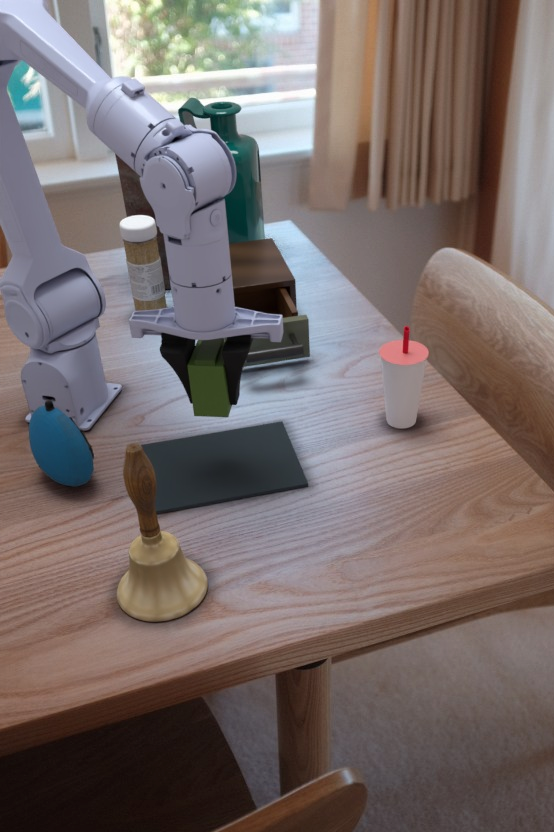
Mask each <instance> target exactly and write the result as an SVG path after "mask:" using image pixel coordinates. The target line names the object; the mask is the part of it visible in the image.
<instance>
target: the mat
mask: <svg viewBox="0 0 554 832" xmlns="http://www.w3.org/2000/svg"><path fill="white" fill-rule="evenodd" d="M140 445H141V446H142V449H143V451H144V453H145V454H146V456H147V457H148V459H149V460H150V462H151V464H152V466H153V469H154V472H155V477H156V485H157V491H156V499H155V511H156V515H159V514H166V513H170V512H177V511H180V510H181V511H182V510H187V509H191V508H198V507H203V506H209V505H213V504H219V503H225V502H230V501H231V502H232V501H235V500H241V499H246V498H252V497H257V496H262V495H268V494H275V493H280V492H284V491H290V490H295V489H301V488H307V487H309V482H308V479H307V477H306V474H305V472H304V469H303V466H302V465H301V463H300V460H299V458H298V455H297V453H296V451H295V448H294V446H293V444H292V441H291V439H290V436H289V433H288V431H287V429H286V427H285V424H284V422H283V421H276V422H271V423H264V424H258V425H252V426H245V427H240V428H235V429H229V430H222V431H217V432H216V431H215V432H209V433H205V434H204V433H203V434H198V435H193V436H187V437H181V438H175V439H169V440H163V441H157V442H150V443H145V444H140Z"/></svg>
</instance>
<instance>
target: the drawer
mask: <svg viewBox="0 0 554 832" xmlns="http://www.w3.org/2000/svg"><path fill="white" fill-rule="evenodd" d="M234 303H235V307H238V308H243V309H248V310H253V311H257V312H262V313H267V314H277V315H282V316H283V336H282V340H281V342H271V341H270V338H253V341H252V344H251V347H250V350H249V353H248V356H247V358H246V361H245V363H244V365H243V368H246V367H252V366H259V365H265V364H273V363H278V362H285V361H291V360H298V359H304V358H310V357H311V349H310V322H309V321H310V320H309V317H308V315H307V314H300V315H299V312H298V311H299V310H298V309H296V307H295V305H294V303H293V302H292V300H291V298H290V296H289V294H288V292H287V290H286V288H285V287H278V288H271V289H263V290H256V291H249V292H241V293H234ZM226 340H227V337H225V338H224V341H226Z"/></svg>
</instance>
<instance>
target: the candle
mask: <svg viewBox="0 0 554 832" xmlns="http://www.w3.org/2000/svg"><path fill="white" fill-rule="evenodd" d="M114 155H115V161H116V165H117V172H118V177H119V182H120V187H121V192H122V197H123V198H122V199H123V204H124V210H125V215H126V218H127V217H130V216H135V215H146V216H150V217H152V218H153V219H154V220H155V223H156V217H155V213H154V210H153V208H152V206H151V205H150V203H149V202H148V200H147V199H146V197H145V195H144V192H143V190H142V187H141V183H140V177H141V176H139V175H138V174H137V173H136V172H135V171H134V170H133V169H132V168H131V167H130V166H128V165H127V164H126V163H125V162H124V161H123V160H122V159H121V158H120V157H118V156H117V155H116V154H115V153H114ZM156 228H157V238H156V239H157V245H158V252H159V256H160V260H161V266H162V273H163V280H164V287H165V290H171V285H170V278H169V269H168V262H167V255H166V248H165V241H164V235H163V233H161V232H160V229H159V227H158V226H157V224H156Z"/></svg>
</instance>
